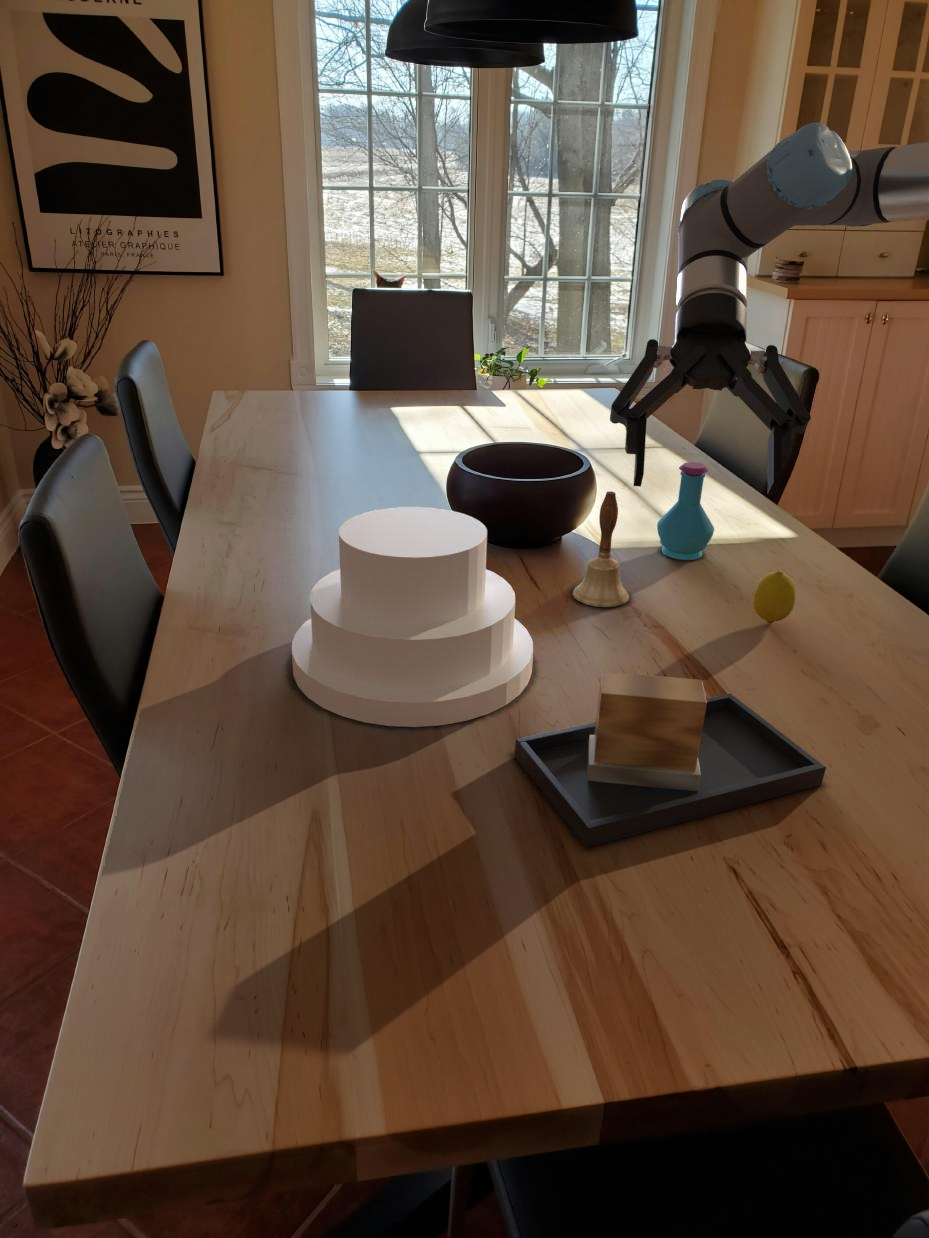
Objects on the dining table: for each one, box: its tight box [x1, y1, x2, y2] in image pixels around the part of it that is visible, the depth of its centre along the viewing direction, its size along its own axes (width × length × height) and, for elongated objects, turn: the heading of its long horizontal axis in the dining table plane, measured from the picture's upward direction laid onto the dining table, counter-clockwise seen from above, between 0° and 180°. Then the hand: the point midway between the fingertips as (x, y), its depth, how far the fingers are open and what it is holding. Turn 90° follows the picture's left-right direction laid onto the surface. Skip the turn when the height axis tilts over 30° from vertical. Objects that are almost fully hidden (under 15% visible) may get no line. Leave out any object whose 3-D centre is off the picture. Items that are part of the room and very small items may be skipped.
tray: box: [514, 693, 827, 849], centre depth 93 cm, size 16×28×2 cm, turn 112°
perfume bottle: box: [656, 461, 715, 561], centre depth 147 cm, size 9×9×15 cm
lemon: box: [752, 570, 797, 625], centre depth 125 cm, size 6×6×8 cm
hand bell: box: [572, 490, 630, 608], centre depth 130 cm, size 8×8×16 cm
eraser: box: [587, 670, 707, 792], centre depth 90 cm, size 11×6×10 cm, turn 82°
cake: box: [291, 506, 534, 728], centre depth 110 cm, size 30×30×18 cm
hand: (705, 484), depth 92 cm, fingers open, 13 cm apart
